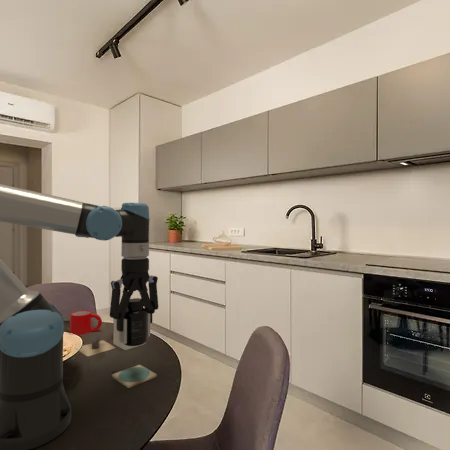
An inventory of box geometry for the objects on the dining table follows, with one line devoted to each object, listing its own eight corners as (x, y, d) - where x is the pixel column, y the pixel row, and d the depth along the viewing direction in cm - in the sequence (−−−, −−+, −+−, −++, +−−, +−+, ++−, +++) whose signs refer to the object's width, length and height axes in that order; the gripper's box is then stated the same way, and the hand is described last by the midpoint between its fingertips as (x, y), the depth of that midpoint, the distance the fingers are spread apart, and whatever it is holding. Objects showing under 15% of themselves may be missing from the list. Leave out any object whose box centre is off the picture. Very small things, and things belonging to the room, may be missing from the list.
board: (87, 358, 101) (87, 343, 101) (74, 349, 108) (74, 336, 108) (116, 349, 109) (116, 336, 109) (102, 341, 115) (103, 329, 115)
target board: (128, 388, 83) (128, 385, 83) (111, 376, 89) (111, 374, 89) (156, 376, 90) (156, 373, 90) (139, 366, 96) (139, 364, 96)
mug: (99, 335, 122) (99, 315, 122) (66, 336, 120) (66, 316, 120) (104, 329, 130) (105, 309, 129) (74, 329, 128) (74, 310, 128)
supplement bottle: (150, 338, 93) (151, 297, 93) (142, 347, 86) (142, 303, 86) (128, 337, 93) (128, 296, 93) (118, 346, 86) (118, 302, 86)
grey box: (125, 351, 107) (125, 322, 107) (113, 345, 112) (113, 317, 112) (145, 345, 112) (145, 317, 112) (133, 339, 118) (133, 312, 118)
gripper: (108, 261, 80) (108, 352, 80) (171, 256, 94) (171, 333, 94) (95, 259, 85) (94, 344, 85) (157, 254, 99) (156, 327, 99)
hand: (135, 338), depth 90 cm, fingers closed on supplement bottle, 7 cm apart
